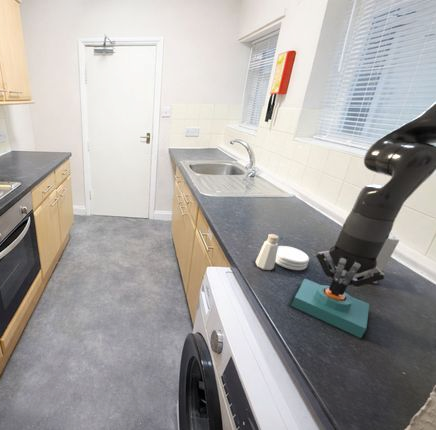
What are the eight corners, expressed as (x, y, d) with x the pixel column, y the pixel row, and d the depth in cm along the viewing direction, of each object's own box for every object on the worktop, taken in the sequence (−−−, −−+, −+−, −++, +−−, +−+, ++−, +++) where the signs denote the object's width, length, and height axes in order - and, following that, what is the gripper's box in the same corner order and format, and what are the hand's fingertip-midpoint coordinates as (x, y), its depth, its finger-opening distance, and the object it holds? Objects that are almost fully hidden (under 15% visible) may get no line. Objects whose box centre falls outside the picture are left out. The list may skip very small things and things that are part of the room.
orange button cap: (343, 299, 67) (346, 293, 66) (341, 307, 64) (344, 301, 63) (324, 292, 69) (326, 285, 69) (321, 299, 67) (324, 293, 66)
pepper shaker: (274, 264, 86) (284, 234, 82) (272, 272, 82) (283, 241, 77) (256, 258, 89) (265, 229, 84) (253, 266, 85) (262, 236, 80)
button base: (364, 312, 67) (373, 297, 65) (360, 338, 60) (370, 322, 58) (301, 286, 76) (306, 272, 74) (291, 306, 69) (297, 291, 67)
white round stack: (298, 275, 81) (302, 265, 80) (265, 259, 88) (268, 250, 87) (311, 264, 87) (315, 255, 85) (279, 250, 94) (282, 242, 92)
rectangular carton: (365, 268, 85) (386, 227, 79) (377, 284, 78) (401, 240, 72) (331, 261, 89) (349, 221, 83) (339, 275, 81) (359, 233, 75)
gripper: (405, 237, 57) (370, 299, 64) (330, 218, 65) (307, 274, 73) (406, 250, 52) (368, 315, 59) (325, 227, 60) (300, 287, 68)
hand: (334, 293), depth 66 cm, fingers closed
